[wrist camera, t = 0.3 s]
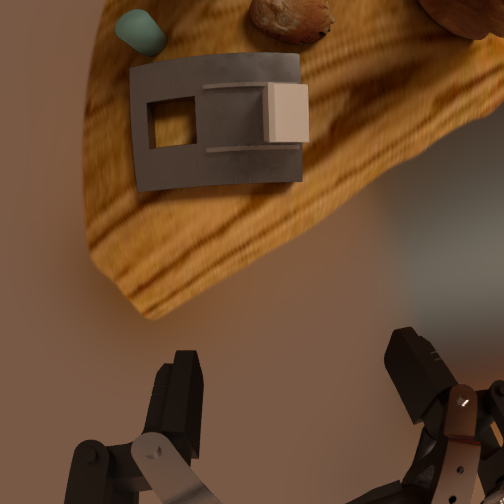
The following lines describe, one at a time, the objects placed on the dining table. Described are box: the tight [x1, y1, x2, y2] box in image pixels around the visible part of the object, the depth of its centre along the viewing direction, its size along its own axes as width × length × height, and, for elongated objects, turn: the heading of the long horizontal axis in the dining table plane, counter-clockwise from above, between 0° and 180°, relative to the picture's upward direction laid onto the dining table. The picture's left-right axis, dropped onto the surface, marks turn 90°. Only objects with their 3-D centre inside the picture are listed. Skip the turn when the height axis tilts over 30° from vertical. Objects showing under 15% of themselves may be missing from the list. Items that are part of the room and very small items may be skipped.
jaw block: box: [262, 82, 309, 142], centre depth 26 cm, size 6×4×6 cm, turn 2°
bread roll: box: [250, 0, 335, 44], centre depth 23 cm, size 10×10×8 cm
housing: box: [130, 53, 302, 192], centre depth 29 cm, size 16×20×4 cm
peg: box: [115, 9, 167, 56], centre depth 22 cm, size 4×4×8 cm
